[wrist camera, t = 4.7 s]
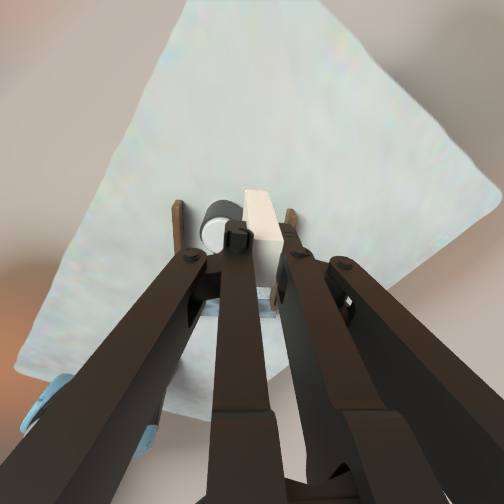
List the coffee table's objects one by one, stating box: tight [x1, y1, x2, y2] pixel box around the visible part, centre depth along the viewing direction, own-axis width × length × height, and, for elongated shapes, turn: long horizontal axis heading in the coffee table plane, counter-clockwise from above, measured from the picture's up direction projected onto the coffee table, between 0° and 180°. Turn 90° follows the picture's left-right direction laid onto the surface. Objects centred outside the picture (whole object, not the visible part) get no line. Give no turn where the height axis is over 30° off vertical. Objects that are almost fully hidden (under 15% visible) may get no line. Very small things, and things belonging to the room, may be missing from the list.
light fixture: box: [200, 200, 243, 254], centre depth 47 cm, size 11×13×11 cm
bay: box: [172, 200, 297, 318], centre depth 54 cm, size 23×26×5 cm
